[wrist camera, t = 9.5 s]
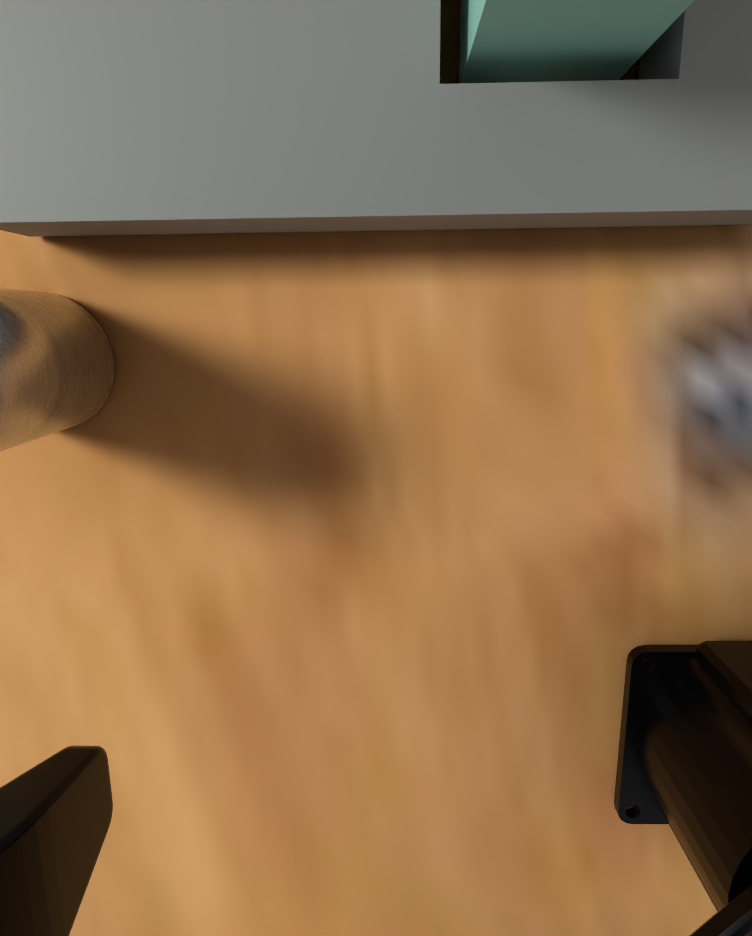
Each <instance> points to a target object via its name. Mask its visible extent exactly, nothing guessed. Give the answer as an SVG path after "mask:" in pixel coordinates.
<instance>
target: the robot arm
mask: <svg viewBox="0 0 752 936" xmlns="http://www.w3.org/2000/svg"><path fill="white" fill-rule="evenodd" d="M644 659H650V662H649V663H648V664H647V665H646V666H639V665H640V663H641V662H642V661H643V660H644ZM632 805H635V806H634V807H633V808H630V809H627V808H628V807H629V806H632ZM614 806H615V809H616V811H617V813H618V815H619V817H620V819H621V820H622V821H624V822H626V823H629V824H669V825H670V827H671V829H672V831H673V833H674V834H675V836H676V838H677V840H678V842H679V843H680V845H681V847H682V849H683V851H684V852H685V854H686V856H687V858H688V860H689V861H690V863H691V865H692V867H693V869H694V870H695V872H696V874H697V876H698V878H699V879H700V881H701V883H702V885H703V887H704V888H705V890H706V892H707V894H708V896H709V897H710V899H711V901H712V903H713V905H714V906H715V908H716V910H717V913H716V914H715V915H713V916H712V917H711V918H710V919H709V920H707V921H706V922H705V923H704V924H703V925H702V926H700V927H699V928H698V929H697V930H696V931H694V932H693V933H692V934H691V935H690V936H752V641H705V642H703V643H700V644H698V645H643V646H637V647H636V648H634V649H632V650H631V652H630V653H629V654H628V657H627V664H626V675H625V686H624V697H623V708H622V720H621V731H620V742H619V753H618V764H617V775H616V786H615V797H614ZM112 810H113V802H112V792H111V784H110V775H109V766H108V758H107V754H106V752H105V750H104V749H103V748H101V747H100V746H69V747H66V748H65V749H63V750H61V751H59V752H58V753H56V754H55V755H53V756H51V757H50V758H48V759H46V760H45V761H43V762H41V763H40V764H38V765H37V766H35V767H33V768H32V769H30V770H28V771H27V772H25V773H24V774H22V775H20V776H19V777H17V778H15V779H14V780H12V781H10V782H9V783H7V784H6V785H4V786H2V787H1V788H0V936H69V934H70V932H71V929H72V926H73V923H74V921H75V918H76V915H77V913H78V910H79V907H80V904H81V902H82V899H83V896H84V894H85V891H86V888H87V885H88V883H89V880H90V877H91V875H92V872H93V869H94V866H95V864H96V861H97V858H98V856H99V853H100V850H101V847H102V845H103V842H104V839H105V837H106V834H107V831H108V828H109V825H110V822H111V818H112Z"/></svg>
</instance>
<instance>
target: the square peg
mask: <svg viewBox="0 0 752 936" xmlns="http://www.w3.org/2000/svg"><path fill="white" fill-rule="evenodd" d="M693 1H694V0H461V12H460V57H459V84H460V83H507V82H553V81H599V80H619V79H620V78H621V77H622V76H623V75H624V73H625V72H626V71H627V70H628V69H629V68H630V67H631V66H632V65H633V64H634V63H635V62H636V61H637V60H638V59H639V58H640V57H641V56H642V55H643V54H644V53H645V52H646V51H647V49H648V48H649V47H650V46H651V45H652V44H653V43H654V42H655V41H656V40H657V39H658V38H659V37H660V36H661V35H662V34H663V33H664V32H665V31H666V30H667V29H668V28H669V26H670V25H671V24H672V23H673V22H674V21H675V20H676V19H677V18H678V17H679V16H680V15H681V14H682V13H683V12H684V11H685V10H686V9H687V8H688V7H689V6H690V5H691V3H692V2H693Z"/></svg>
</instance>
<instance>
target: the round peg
mask: <svg viewBox="0 0 752 936" xmlns="http://www.w3.org/2000/svg"><path fill="white" fill-rule="evenodd" d="M113 379H114V359H113V353H112V350H111V346H110V343H109V341H108V339H107V336H106V334H105V333H104V331H103V329H102V328H101V326H100V325H99V324H98V322H97V321H96V320H95V318H94V317H93V316H92V315H91V314H90V313H89V312H88V311H86V310H85V309H84V308H83V307H81V306H80V305H78V304H77V303H75V302H74V301H72V300H70V299H68V298H65V297H63V296H60V295H57V294H53V293H47V292H36V291H23V290H11V289H0V451H3V450H6V449H8V448H11V447H14V446H17V445H20V444H23V443H26V442H29V441H32V440H35V439H38V438H41V437H44V436H47V435H50V434H53V433H55V432H58V431H61V430H64V429H67V428H70V427H73V426H76V425H79V424H81V423H83V422H85V421H87V420H88V419H89V418H91V417H92V416H94V415H95V414H96V413H97V412H98V411H99V410H100V408H101V407H102V406H103V404H104V403H105V401H106V400H107V398H108V396H109V393H110V391H111V388H112V384H113Z"/></svg>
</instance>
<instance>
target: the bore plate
mask: <svg viewBox="0 0 752 936" xmlns="http://www.w3.org/2000/svg"><path fill="white" fill-rule="evenodd" d="M749 224H752V0H694V1H693V2H692V3H691V5H690V6H689V7H688V8H687V9H686V10H685V11H684V12H683V13H682V14H681V15H680V16H679V17H678V18H677V19H676V20H675V21H674V22H673V23H672V24H671V25H670V26H669V28H668V29H667V30H666V31H665V32H664V33H663V34H662V35H661V36H660V37H659V38H658V39H657V40H656V41H655V42H654V43H653V44H652V45H651V46H650V47H649V48H648V49H647V51H646V52H645V53H644V54H643V55H642V56H641V57H640V68H639V80H599V81H553V82H507V83H460V84H440V0H0V230H4V231H8V232H12V233H16V234H21V235H25V236H87V235H147V234H208V233H268V232H329V231H389V230H449V229H510V228H570V227H631V226H691V225H749Z"/></svg>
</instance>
